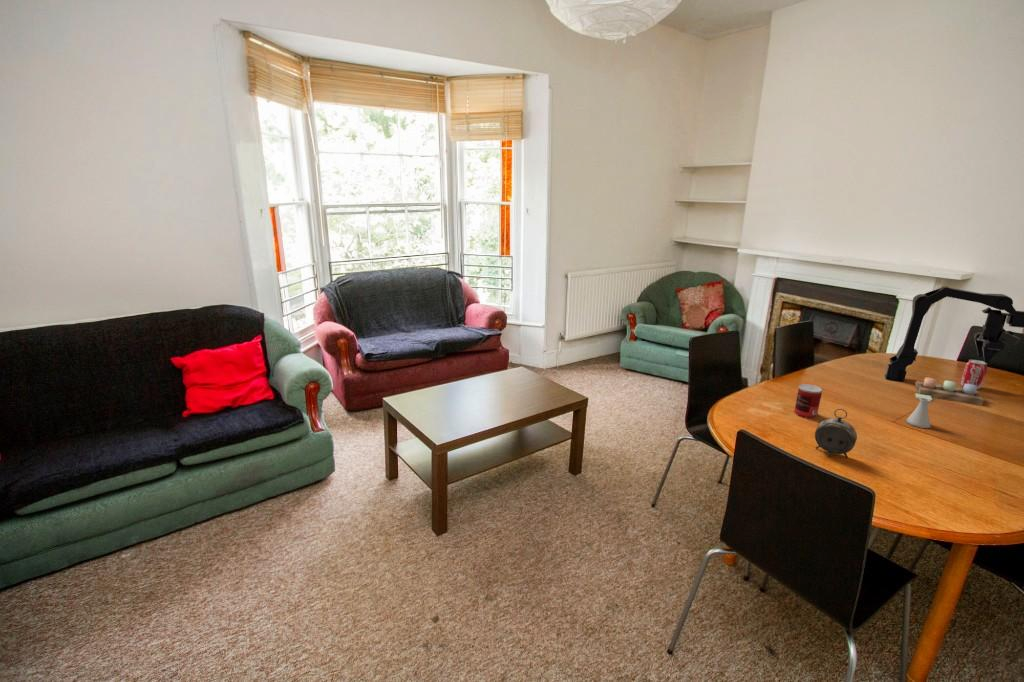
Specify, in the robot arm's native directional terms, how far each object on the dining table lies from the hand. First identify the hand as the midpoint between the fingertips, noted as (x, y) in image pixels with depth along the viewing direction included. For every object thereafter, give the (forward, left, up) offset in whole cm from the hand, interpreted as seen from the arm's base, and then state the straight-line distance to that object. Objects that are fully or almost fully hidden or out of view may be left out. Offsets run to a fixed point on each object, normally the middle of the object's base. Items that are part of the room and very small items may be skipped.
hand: (983, 360), depth 207 cm
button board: (-11, -12, -14) cm, 22 cm away
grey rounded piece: (-4, -12, -13) cm, 18 cm away
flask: (-26, -54, -15) cm, 62 cm away
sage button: (-11, -12, -13) cm, 21 cm away
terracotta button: (-17, -12, -13) cm, 25 cm away
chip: (-20, -21, -14) cm, 32 cm away
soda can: (0, +6, -15) cm, 16 cm away
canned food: (-62, -67, -15) cm, 92 cm away
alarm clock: (-54, -98, -15) cm, 113 cm away
